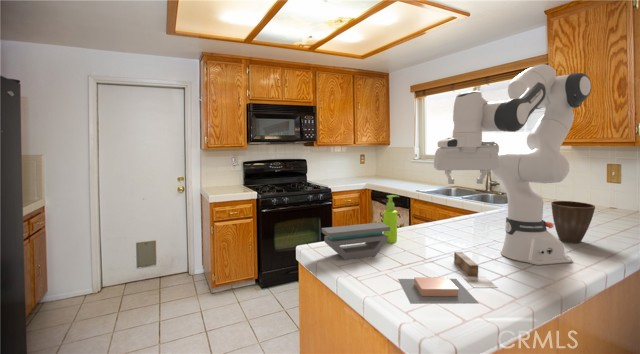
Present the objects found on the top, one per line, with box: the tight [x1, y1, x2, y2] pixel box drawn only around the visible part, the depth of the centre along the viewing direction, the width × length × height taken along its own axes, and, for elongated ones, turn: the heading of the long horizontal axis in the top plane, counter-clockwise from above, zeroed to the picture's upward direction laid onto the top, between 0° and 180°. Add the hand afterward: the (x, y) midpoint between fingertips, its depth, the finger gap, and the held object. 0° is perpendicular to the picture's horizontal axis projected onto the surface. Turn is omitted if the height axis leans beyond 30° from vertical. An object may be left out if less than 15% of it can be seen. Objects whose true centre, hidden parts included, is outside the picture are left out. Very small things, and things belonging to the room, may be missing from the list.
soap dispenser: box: [382, 194, 400, 244], centre depth 147 cm, size 6×7×20 cm
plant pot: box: [551, 200, 596, 244], centre depth 144 cm, size 15×15×16 cm
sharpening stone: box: [321, 221, 390, 261], centre depth 129 cm, size 25×8×11 cm, turn 109°
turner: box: [453, 251, 498, 289], centre depth 109 cm, size 21×7×4 cm, turn 179°
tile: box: [413, 276, 458, 296], centre depth 97 cm, size 10×2×8 cm
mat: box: [397, 278, 479, 305], centre depth 97 cm, size 18×16×1 cm
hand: (465, 183), depth 112 cm, fingers open, 8 cm apart
